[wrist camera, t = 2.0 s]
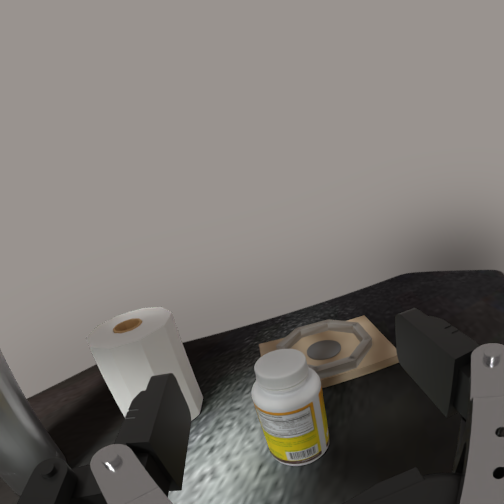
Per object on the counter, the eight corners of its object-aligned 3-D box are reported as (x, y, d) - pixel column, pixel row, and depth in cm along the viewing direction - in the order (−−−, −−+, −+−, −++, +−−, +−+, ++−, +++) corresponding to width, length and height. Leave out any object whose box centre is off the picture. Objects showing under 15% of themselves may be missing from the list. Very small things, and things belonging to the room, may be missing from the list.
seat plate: (269, 401, 33) (265, 385, 32) (260, 351, 44) (257, 337, 44) (400, 361, 33) (400, 345, 32) (364, 322, 44) (363, 308, 44)
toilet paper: (157, 382, 41) (127, 306, 39) (218, 391, 37) (188, 305, 34) (112, 424, 32) (69, 342, 30) (174, 446, 28) (127, 352, 25)
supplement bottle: (297, 419, 29) (278, 336, 26) (342, 438, 24) (331, 350, 22) (258, 452, 25) (229, 369, 23) (302, 478, 21) (280, 393, 19)
